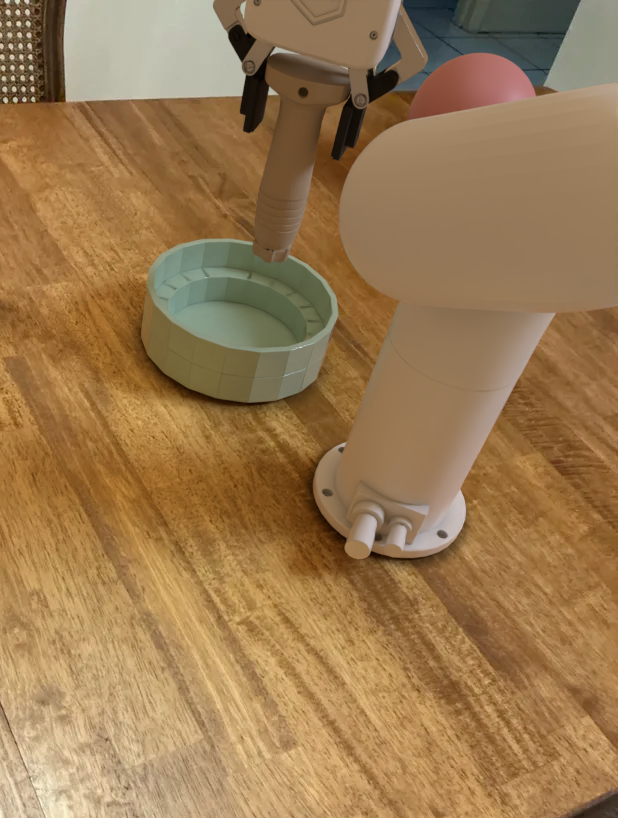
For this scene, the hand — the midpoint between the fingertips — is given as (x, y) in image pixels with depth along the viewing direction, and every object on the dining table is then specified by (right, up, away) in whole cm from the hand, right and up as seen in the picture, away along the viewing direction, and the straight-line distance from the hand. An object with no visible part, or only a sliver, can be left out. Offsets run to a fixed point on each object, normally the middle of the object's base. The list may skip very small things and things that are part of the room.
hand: (296, 137), depth 67 cm
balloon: (+26, +14, +45) cm, 53 cm away
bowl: (-5, -13, +15) cm, 20 cm away
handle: (-2, -7, +8) cm, 10 cm away
